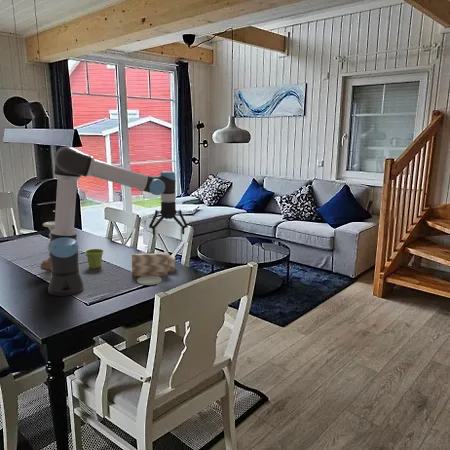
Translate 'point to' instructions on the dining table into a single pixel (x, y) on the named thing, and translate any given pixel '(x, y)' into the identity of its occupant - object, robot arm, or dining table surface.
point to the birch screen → (149, 264)
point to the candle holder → (47, 263)
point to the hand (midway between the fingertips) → (168, 240)
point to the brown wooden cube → (171, 263)
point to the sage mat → (149, 280)
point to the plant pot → (94, 257)
